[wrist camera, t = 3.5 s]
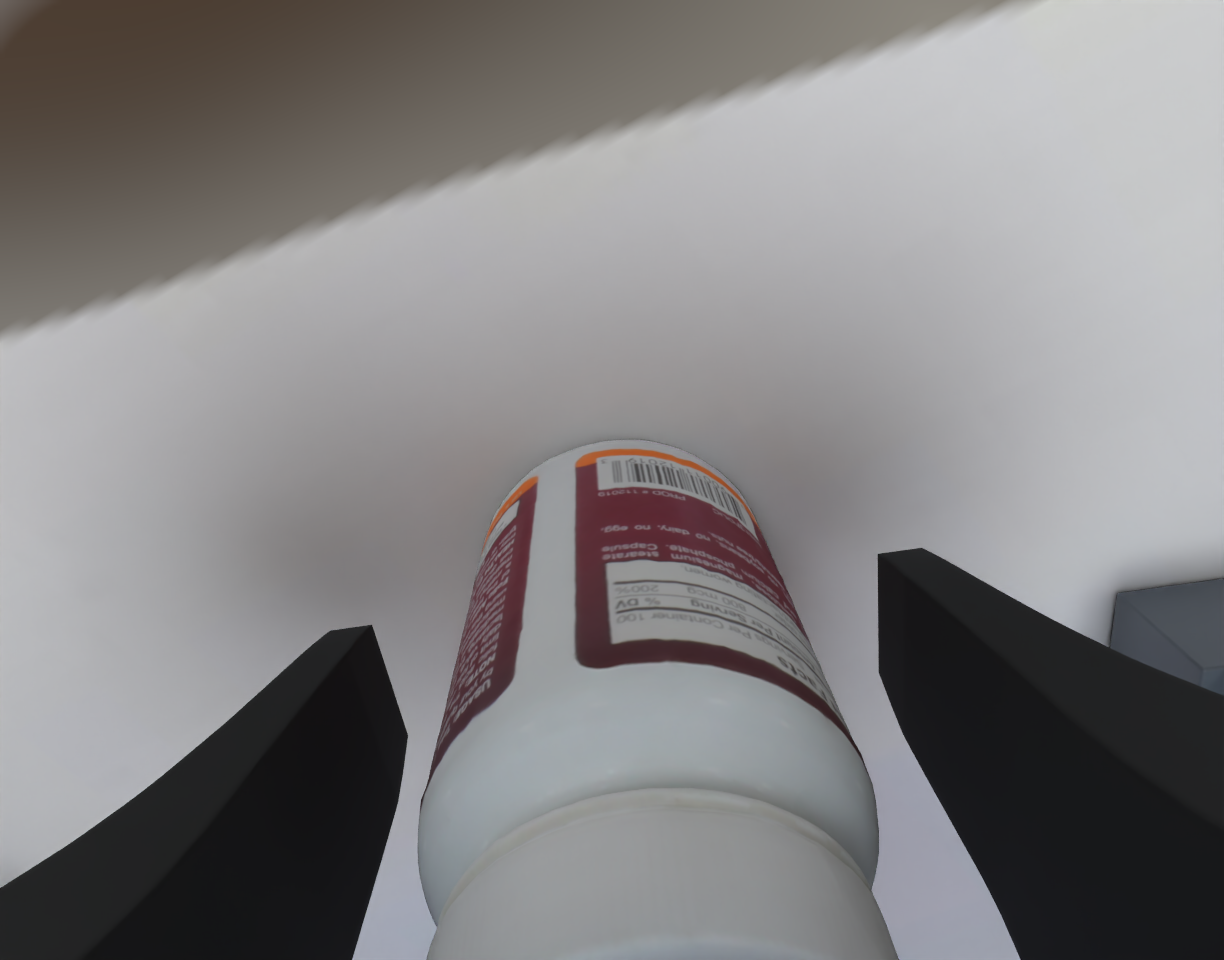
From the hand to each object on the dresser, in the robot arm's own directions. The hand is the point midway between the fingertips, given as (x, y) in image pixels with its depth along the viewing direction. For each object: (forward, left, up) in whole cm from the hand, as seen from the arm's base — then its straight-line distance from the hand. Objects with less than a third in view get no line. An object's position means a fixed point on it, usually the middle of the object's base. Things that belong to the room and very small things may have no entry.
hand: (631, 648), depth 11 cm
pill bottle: (0, 0, -3) cm, 3 cm away
